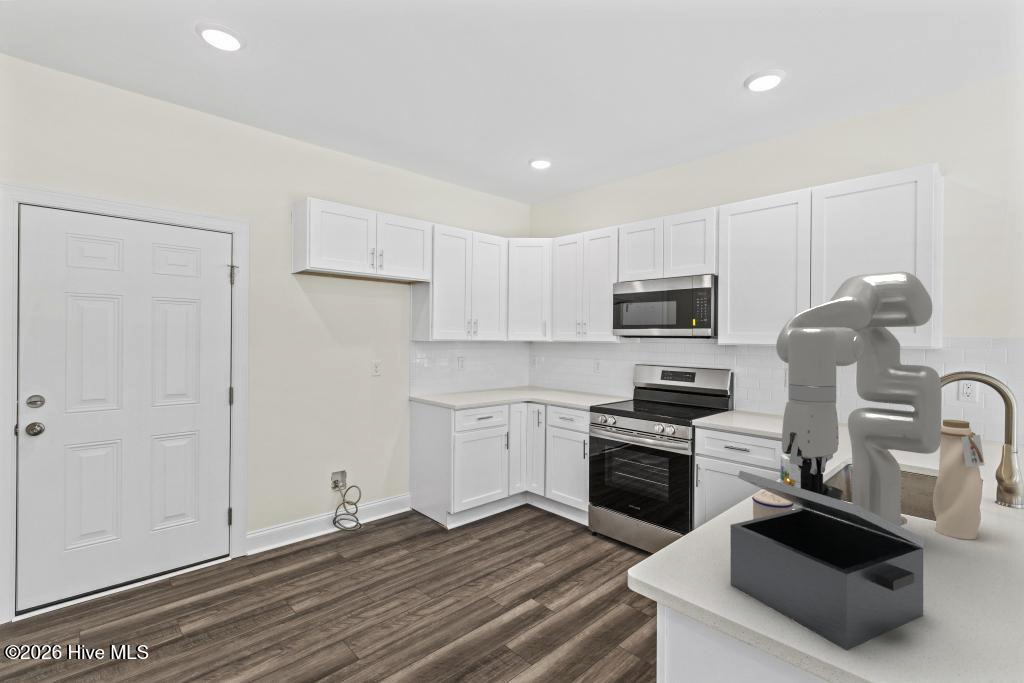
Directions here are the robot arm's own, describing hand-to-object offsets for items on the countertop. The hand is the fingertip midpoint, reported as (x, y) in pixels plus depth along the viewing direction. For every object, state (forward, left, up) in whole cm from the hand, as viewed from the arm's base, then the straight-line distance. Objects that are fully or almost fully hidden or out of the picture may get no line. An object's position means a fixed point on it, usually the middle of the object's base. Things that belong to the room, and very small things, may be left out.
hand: (811, 493), depth 89 cm
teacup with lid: (-23, -24, -21) cm, 39 cm away
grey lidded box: (-3, 0, -20) cm, 21 cm away
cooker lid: (-4, 0, -4) cm, 5 cm away
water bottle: (-63, -4, -21) cm, 66 cm away
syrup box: (-44, -34, -21) cm, 59 cm away
